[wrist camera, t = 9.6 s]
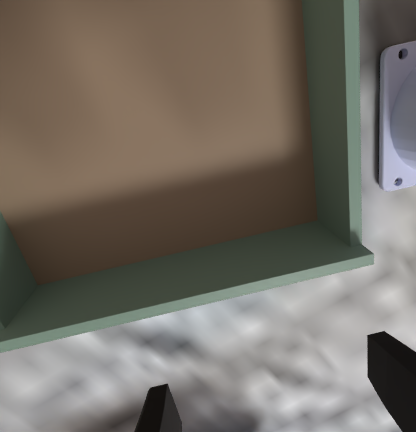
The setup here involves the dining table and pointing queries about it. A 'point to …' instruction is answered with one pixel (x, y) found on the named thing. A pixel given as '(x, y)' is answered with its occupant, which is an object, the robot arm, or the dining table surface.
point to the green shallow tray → (172, 156)
